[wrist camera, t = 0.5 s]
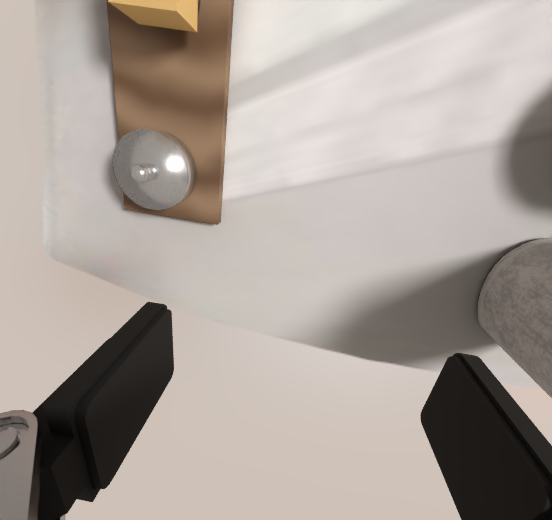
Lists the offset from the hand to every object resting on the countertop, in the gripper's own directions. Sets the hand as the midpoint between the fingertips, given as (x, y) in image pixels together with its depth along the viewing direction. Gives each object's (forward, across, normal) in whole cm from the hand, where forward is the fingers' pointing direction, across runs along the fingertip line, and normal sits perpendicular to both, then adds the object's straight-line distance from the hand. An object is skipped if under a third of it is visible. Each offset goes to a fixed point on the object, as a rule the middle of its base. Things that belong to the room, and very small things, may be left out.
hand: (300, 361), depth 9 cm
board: (+29, +17, -10) cm, 35 cm away
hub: (+27, +19, -2) cm, 33 cm away
